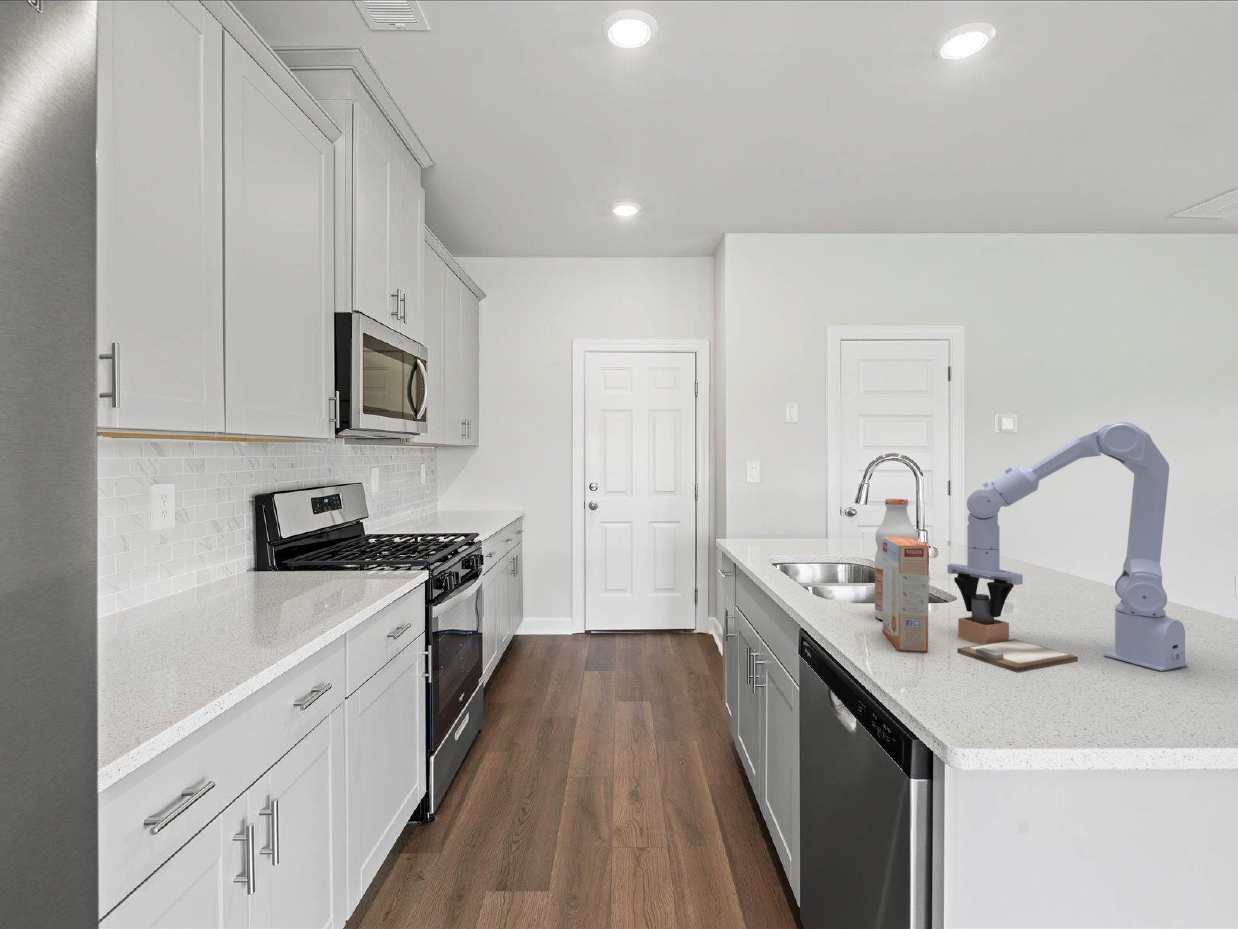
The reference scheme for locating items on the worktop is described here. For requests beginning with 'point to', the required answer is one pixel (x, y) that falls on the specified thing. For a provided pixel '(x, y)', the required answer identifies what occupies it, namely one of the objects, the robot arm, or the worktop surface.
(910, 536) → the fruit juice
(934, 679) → the worktop surface
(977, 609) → the grey lidded canister
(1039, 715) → the worktop surface
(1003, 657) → the clipboard
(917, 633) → the cracker box
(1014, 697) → the worktop surface
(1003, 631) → the terracotta open box
